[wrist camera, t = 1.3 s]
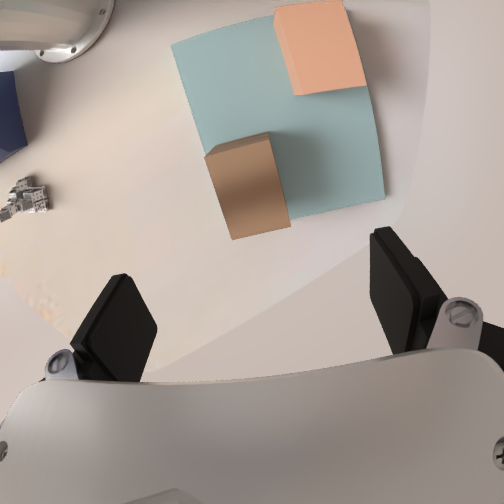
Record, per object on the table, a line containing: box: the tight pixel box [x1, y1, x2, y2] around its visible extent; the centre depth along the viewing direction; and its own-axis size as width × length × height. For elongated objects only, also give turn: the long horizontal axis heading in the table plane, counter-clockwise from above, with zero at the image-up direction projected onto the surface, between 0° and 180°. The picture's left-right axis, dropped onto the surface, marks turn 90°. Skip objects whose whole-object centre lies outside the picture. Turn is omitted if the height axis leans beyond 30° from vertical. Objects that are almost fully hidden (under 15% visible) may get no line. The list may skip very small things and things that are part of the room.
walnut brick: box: [204, 131, 291, 240], centre depth 27 cm, size 8×6×6 cm
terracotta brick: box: [273, 0, 367, 96], centre depth 20 cm, size 8×6×6 cm
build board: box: [171, 7, 385, 219], centre depth 27 cm, size 22×18×1 cm
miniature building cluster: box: [0, 177, 50, 222], centre depth 28 cm, size 9×9×8 cm
